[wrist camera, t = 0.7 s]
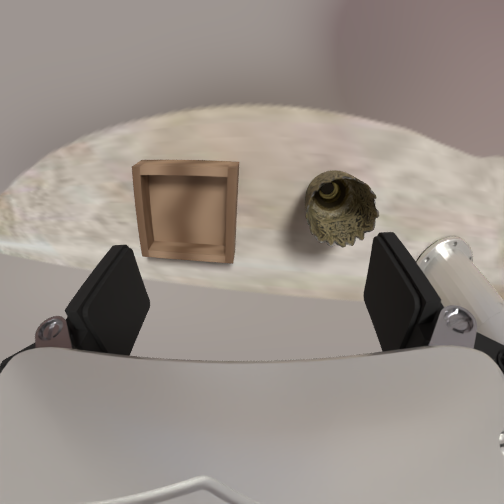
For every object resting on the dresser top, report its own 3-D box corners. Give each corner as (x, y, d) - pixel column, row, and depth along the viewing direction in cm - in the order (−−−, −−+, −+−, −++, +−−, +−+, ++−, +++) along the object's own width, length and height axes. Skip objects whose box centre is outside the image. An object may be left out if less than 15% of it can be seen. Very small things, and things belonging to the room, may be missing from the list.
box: (239, 162, 32) (237, 168, 29) (235, 250, 38) (233, 263, 36) (141, 160, 32) (131, 166, 29) (149, 244, 38) (142, 256, 35)
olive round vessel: (289, 166, 32) (298, 189, 25) (349, 151, 31) (373, 170, 24) (305, 221, 36) (315, 256, 29) (359, 207, 34) (382, 238, 27)
